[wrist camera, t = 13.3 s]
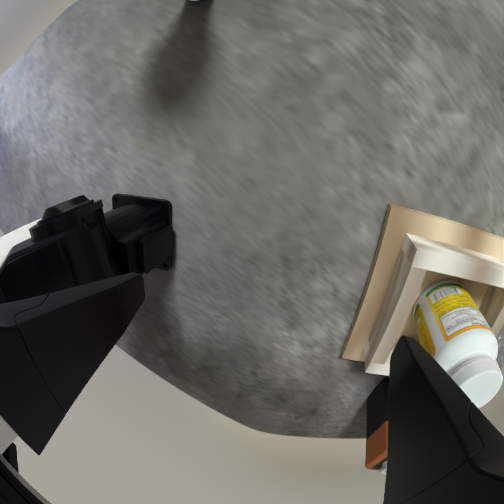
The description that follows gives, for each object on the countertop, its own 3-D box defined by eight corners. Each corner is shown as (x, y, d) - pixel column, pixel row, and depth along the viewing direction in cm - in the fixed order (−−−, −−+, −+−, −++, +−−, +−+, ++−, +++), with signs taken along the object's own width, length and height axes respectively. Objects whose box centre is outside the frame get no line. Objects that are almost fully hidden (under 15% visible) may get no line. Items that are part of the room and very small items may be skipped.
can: (66, 224, 28) (-14, 265, 17) (69, 269, 31) (1, 315, 20) (39, 210, 29) (-32, 243, 18) (42, 252, 31) (-20, 290, 21)
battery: (383, 375, 24) (388, 460, 15) (433, 384, 23) (447, 460, 14) (364, 399, 26) (362, 477, 17) (413, 407, 25) (419, 479, 16)
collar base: (341, 350, 24) (340, 382, 20) (388, 203, 18) (401, 218, 15) (459, 366, 21) (469, 393, 18) (519, 244, 15) (543, 263, 12)
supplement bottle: (439, 266, 18) (489, 349, 9) (477, 296, 17) (524, 374, 9) (398, 317, 20) (419, 411, 12) (438, 340, 20) (464, 426, 11)
